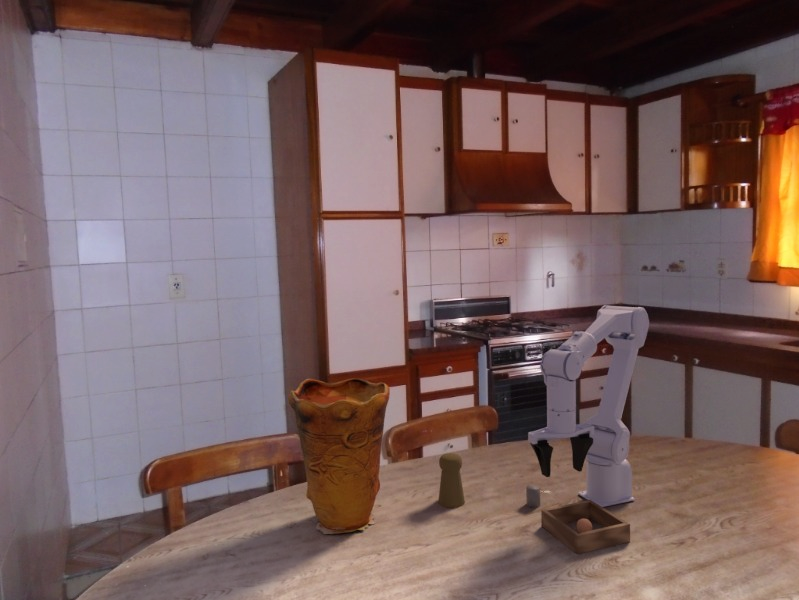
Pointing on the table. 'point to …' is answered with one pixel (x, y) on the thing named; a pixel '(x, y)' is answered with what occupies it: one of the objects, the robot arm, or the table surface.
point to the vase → (341, 448)
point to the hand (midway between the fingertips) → (561, 472)
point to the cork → (451, 481)
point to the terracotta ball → (584, 525)
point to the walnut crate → (591, 540)
